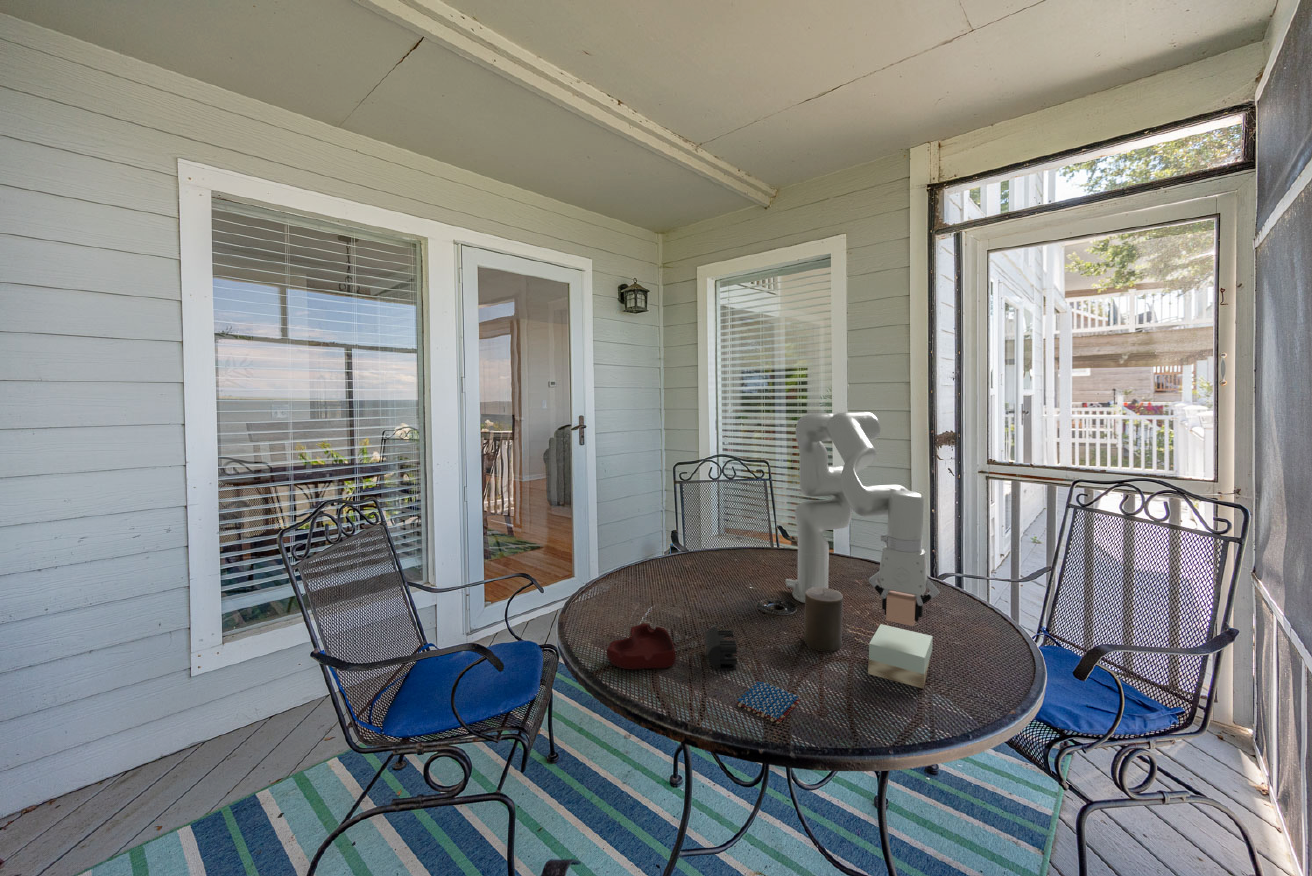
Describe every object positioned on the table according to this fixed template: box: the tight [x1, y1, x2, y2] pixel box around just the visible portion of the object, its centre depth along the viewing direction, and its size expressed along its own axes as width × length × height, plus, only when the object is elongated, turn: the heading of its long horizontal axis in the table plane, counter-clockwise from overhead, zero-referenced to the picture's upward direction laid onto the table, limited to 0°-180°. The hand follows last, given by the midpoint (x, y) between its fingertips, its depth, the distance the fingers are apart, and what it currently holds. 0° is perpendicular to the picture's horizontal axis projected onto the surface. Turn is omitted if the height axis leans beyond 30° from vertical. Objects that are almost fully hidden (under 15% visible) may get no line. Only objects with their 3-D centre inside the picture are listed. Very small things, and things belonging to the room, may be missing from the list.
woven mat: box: [736, 681, 800, 725], centre depth 118 cm, size 10×11×2 cm
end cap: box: [704, 626, 738, 671], centre depth 136 cm, size 10×7×7 cm
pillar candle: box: [803, 587, 844, 653], centre depth 143 cm, size 10×10×15 cm
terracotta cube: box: [885, 590, 917, 627], centre depth 129 cm, size 6×6×6 cm
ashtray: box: [606, 622, 677, 670], centre depth 137 cm, size 18×16×5 cm
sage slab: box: [868, 623, 934, 674], centre depth 130 cm, size 12×12×4 cm
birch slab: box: [867, 659, 930, 690], centre depth 131 cm, size 12×12×4 cm
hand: (901, 615), depth 129 cm, fingers closed on terracotta cube, 6 cm apart
